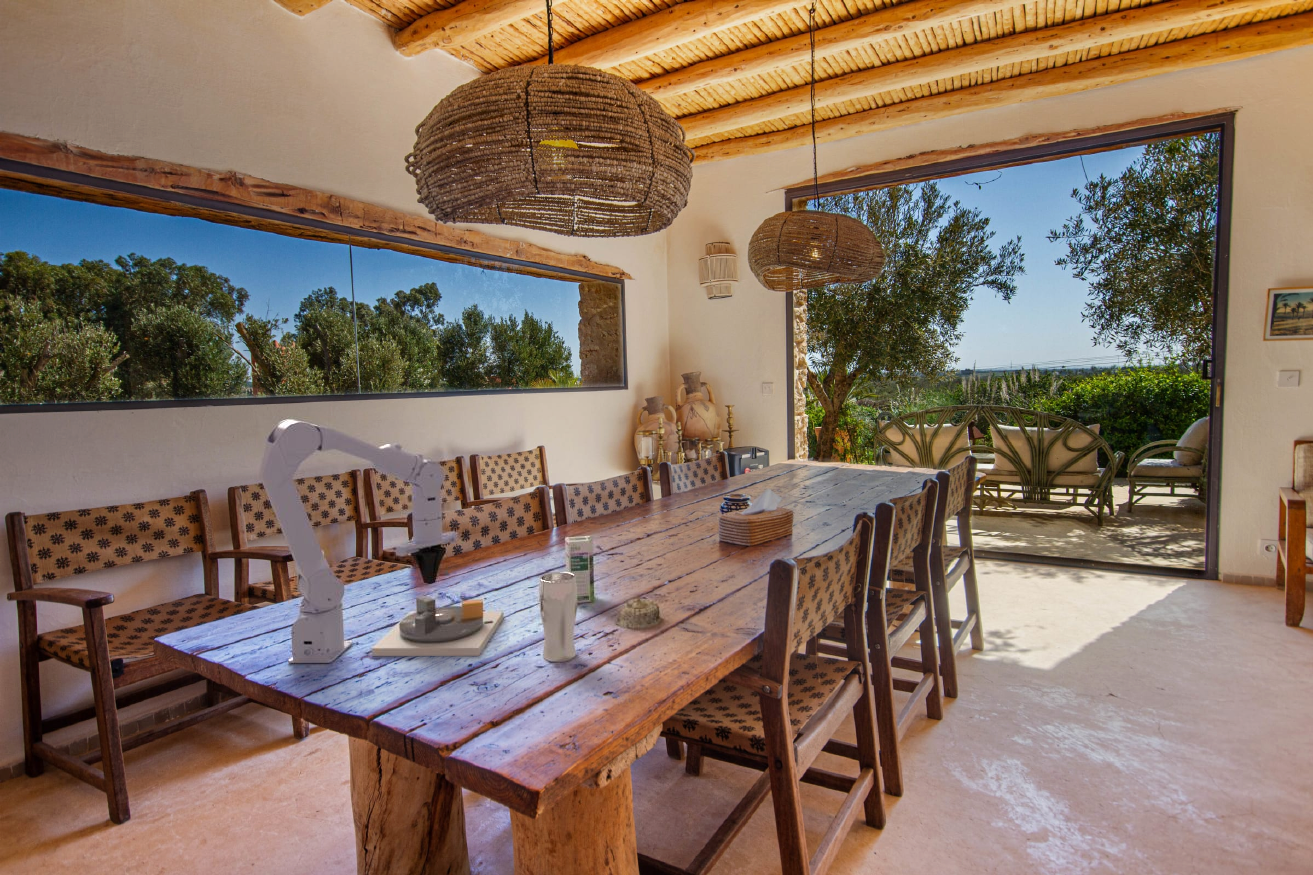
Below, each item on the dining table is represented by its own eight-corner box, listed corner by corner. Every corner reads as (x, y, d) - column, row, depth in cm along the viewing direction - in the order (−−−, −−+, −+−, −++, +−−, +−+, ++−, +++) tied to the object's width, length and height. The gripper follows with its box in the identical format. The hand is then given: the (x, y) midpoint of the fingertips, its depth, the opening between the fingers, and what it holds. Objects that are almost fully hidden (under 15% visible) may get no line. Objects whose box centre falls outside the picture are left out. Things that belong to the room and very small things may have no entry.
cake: (662, 616, 151) (664, 592, 151) (659, 634, 141) (661, 608, 141) (617, 611, 152) (619, 588, 151) (611, 629, 142) (613, 604, 141)
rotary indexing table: (499, 625, 139) (498, 603, 139) (426, 649, 127) (425, 625, 127) (455, 608, 150) (454, 587, 149) (384, 628, 138) (383, 606, 137)
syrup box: (569, 604, 157) (568, 541, 155) (565, 596, 162) (564, 535, 161) (594, 602, 158) (593, 540, 157) (590, 594, 164) (589, 534, 163)
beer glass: (560, 645, 133) (559, 569, 132) (586, 654, 129) (584, 575, 128) (532, 656, 128) (530, 577, 127) (558, 666, 124) (556, 584, 122)
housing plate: (479, 655, 129) (478, 646, 128) (371, 655, 129) (371, 647, 129) (503, 617, 148) (503, 610, 148) (410, 618, 149) (410, 610, 149)
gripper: (440, 509, 150) (443, 571, 151) (384, 522, 137) (387, 588, 139) (464, 513, 146) (466, 575, 148) (408, 526, 134) (411, 594, 135)
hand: (429, 582), depth 143 cm, fingers closed
